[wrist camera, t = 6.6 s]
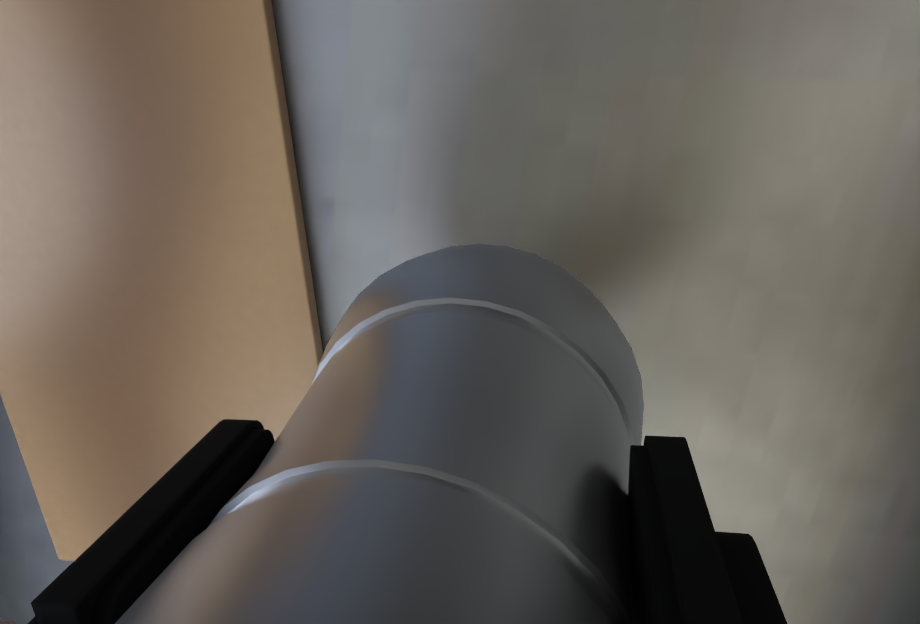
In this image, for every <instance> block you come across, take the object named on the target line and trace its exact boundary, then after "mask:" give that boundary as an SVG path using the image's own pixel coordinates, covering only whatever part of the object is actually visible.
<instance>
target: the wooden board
mask: <svg viewBox="0 0 920 624" xmlns="http://www.w3.org/2000/svg"><path fill="white" fill-rule="evenodd" d="M322 355H323V349H322V342H321V335H320V328H319V321H318V315H317V308H316V301H315V294H314V287H313V281H312V274H311V267H310V260H309V253H308V246H307V240H306V233H305V226H304V219H303V212H302V205H301V199H300V192H299V185H298V178H297V171H296V164H295V158H294V151H293V144H292V137H291V130H290V123H289V117H288V110H287V103H286V96H285V89H284V82H283V76H282V69H281V62H280V55H279V48H278V41H277V35H276V28H275V21H274V14H273V7H272V0H0V395H1V398H2V401H3V403H4V406H5V409H6V412H7V415H8V418H9V420H10V423H11V426H12V429H13V432H14V434H15V437H16V440H17V443H18V446H19V448H20V451H21V454H22V457H23V460H24V463H25V465H26V468H27V471H28V474H29V477H30V479H31V482H32V485H33V488H34V491H35V494H36V496H37V499H38V502H39V505H40V508H41V510H42V513H43V516H44V519H45V522H46V525H47V527H48V530H49V533H50V536H51V539H52V541H53V544H54V547H55V550H56V553H57V555H58V558H59V560H67V561H75V560H76V559H77V558H78V557H79V556H80V555H81V554H82V553H83V552H84V551H85V550H86V549H87V548H88V547H90V546H91V545H92V544H93V543H94V542H95V541H96V540H97V539H98V538H99V537H100V536H101V535H102V534H103V533H104V532H105V531H106V530H107V529H108V528H109V527H110V526H111V525H112V524H113V523H115V522H116V521H117V520H118V519H119V518H120V517H121V516H122V515H123V514H124V513H125V512H126V511H127V510H128V509H129V508H130V507H131V506H132V505H133V504H134V503H135V502H136V501H137V500H138V499H140V498H141V497H142V496H143V495H144V494H145V493H146V492H147V491H148V490H149V489H150V488H151V487H152V486H153V485H154V484H155V483H156V482H157V481H158V480H159V479H160V478H161V477H162V476H163V475H164V474H166V473H167V472H168V471H169V470H170V469H171V468H172V467H173V466H174V465H175V464H176V463H177V462H178V461H179V460H180V459H181V458H182V457H183V456H184V455H185V454H186V453H187V452H188V451H189V450H191V449H192V448H193V447H194V446H195V445H196V444H197V443H198V442H199V441H200V440H201V439H202V438H203V437H204V436H205V435H206V434H207V433H208V432H209V431H210V430H211V429H212V428H213V427H214V426H216V425H217V424H218V423H219V422H220V421H222V420H223V419H237V420H258V421H259V422H261V423H262V425H263V427H264V429H265V430H270V431H271V432H272V434H273V437H274V442H275V441H276V440H277V438H278V436H279V435H280V433H281V432H282V430H283V429H284V427H285V426H286V424H287V422H288V421H289V419H290V418H291V416H292V415H293V413H294V412H295V410H296V408H297V407H298V405H299V404H300V402H301V401H302V399H303V398H304V396H305V395H306V393H307V391H308V390H309V388H310V387H311V384H312V381H313V378H314V376H315V373H316V370H317V368H318V365H319V363H320V360H321V358H322Z"/></svg>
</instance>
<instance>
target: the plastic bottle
mask: <svg viewBox="0 0 920 624" xmlns="http://www.w3.org/2000/svg"><path fill="white" fill-rule="evenodd" d="M643 410H644V403H643V393H642V382H641V375H640V372H639V369H638V366H637V363H636V360H635V357H634V355H633V352H632V349H631V347H630V345H629V343H628V342H627V340H626V338H625V337H624V335H623V333H622V332H621V330H620V328H619V327H618V325H617V323H616V321H615V320H614V319H613V317H612V316H611V315H610V313H609V312H608V311H607V309H606V308H605V306H604V305H603V304H602V303H601V302H600V301H599V299H598V298H597V297H596V296H595V295H594V294H593V293H592V292H591V291H590V290H589V288H588V287H587V286H586V285H585V284H584V283H583V282H581V281H580V280H579V279H577V278H576V277H575V276H573V275H572V274H571V273H569V272H568V271H567V270H565V269H564V268H563V267H561V266H559V265H557V264H555V263H553V262H551V261H549V260H547V259H545V258H543V257H541V256H539V255H537V254H534V253H531V252H527V251H524V250H520V249H516V248H513V247H509V246H503V245H491V244H480V243H477V244H467V245H458V246H450V247H447V248H443V249H440V250H437V251H434V252H430V253H427V254H424V255H421V256H419V257H416V258H413V259H411V260H408V261H406V262H404V263H402V264H400V265H398V266H397V267H395V268H393V269H391V270H389V271H387V272H386V273H384V274H382V275H380V276H379V277H378V278H377V279H375V280H374V281H373V282H372V283H371V284H370V285H369V286H368V287H366V288H365V289H364V290H363V291H362V292H361V293H360V294H358V296H357V297H356V299H355V300H354V301H353V303H352V304H351V306H350V307H349V308H348V310H347V311H346V313H345V314H344V315H343V317H342V319H341V320H340V322H339V324H338V326H337V327H336V329H335V331H334V333H333V335H332V336H331V338H330V340H329V342H328V344H327V346H326V348H325V350H324V353H323V355H322V358H321V360H320V363H319V365H318V368H317V370H316V373H315V376H314V378H313V381H312V384H311V387H310V388H309V390H308V391H307V393H306V395H305V396H304V398H303V399H302V401H301V402H300V404H299V405H298V407H297V408H296V410H295V412H294V413H293V415H292V416H291V418H290V419H289V421H288V422H287V424H286V426H285V427H284V429H283V430H282V432H281V433H280V435H279V436H278V438H277V440H276V441H275V443H274V444H273V446H272V447H271V449H270V450H269V452H268V454H267V455H266V457H265V458H264V460H263V461H262V463H261V464H260V466H259V467H258V469H257V471H256V472H255V474H254V475H253V476H252V477H251V478H250V479H249V480H248V481H247V482H246V483H245V484H244V485H243V486H242V487H241V488H240V490H239V491H238V492H237V493H236V494H235V495H234V496H233V497H232V498H231V499H230V500H229V501H228V502H227V503H226V504H225V506H224V507H223V508H222V509H221V510H220V511H219V513H218V514H217V515H216V517H215V518H214V520H213V521H212V522H211V524H210V525H209V526H208V528H207V529H206V530H204V531H203V532H202V533H200V534H199V535H198V536H197V537H195V538H194V539H193V540H192V541H191V542H190V543H189V544H188V545H187V546H186V547H185V548H184V550H183V551H182V552H181V553H180V554H179V555H178V556H177V557H176V558H175V559H174V560H173V561H172V562H171V564H170V565H169V566H168V567H167V568H166V569H165V570H164V571H163V572H162V573H161V574H160V575H159V576H158V578H157V579H156V580H155V581H154V582H153V583H152V584H151V585H150V586H149V587H148V588H147V589H146V590H145V592H144V593H143V594H142V595H141V596H140V597H139V598H138V599H137V600H136V601H135V602H134V603H133V604H132V606H131V607H130V608H129V609H128V610H127V611H126V612H125V613H124V614H123V615H122V616H121V617H120V619H119V620H118V621H117V622H116V623H115V624H635V621H634V616H633V610H632V604H631V575H632V568H631V547H630V526H629V504H628V482H629V459H630V446H631V445H641V439H642V425H643Z"/></svg>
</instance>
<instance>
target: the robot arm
mask: <svg viewBox="0 0 920 624" xmlns="http://www.w3.org/2000/svg"><path fill="white" fill-rule="evenodd" d="M274 443H275V442H274V437H273V434H272V432H271V431H270V430H265V429H264V427H263V425H262V423H261V422H259V421H258V420H237V419H223V420H222V421H220V422H219V423H218V424H217V425H216V426H214V427H213V428H212V429H211V430H210V431H209V432H208V433H207V434H206V435H205V436H204V437H203V438H202V439H201V440H200V441H199V442H198V443H197V444H196V445H195V446H194V447H193V448H192V449H191V450H189V451H188V452H187V453H186V454H185V455H184V456H183V457H182V458H181V459H180V460H179V461H178V462H177V463H176V464H175V465H174V466H173V467H172V468H171V469H170V470H169V471H168V472H167V473H166V474H164V475H163V476H162V477H161V478H160V479H159V480H158V481H157V482H156V483H155V484H154V485H153V486H152V487H151V488H150V489H149V490H148V491H147V492H146V493H145V494H144V495H143V496H142V497H141V498H140V499H138V500H137V501H136V502H135V503H134V504H133V505H132V506H131V507H130V508H129V509H128V510H127V511H126V512H125V513H124V514H123V515H122V516H121V517H120V518H119V519H118V520H117V521H116V522H115V523H113V524H112V525H111V526H110V527H109V528H108V529H107V530H106V531H105V532H104V533H103V534H102V535H101V536H100V537H99V538H98V539H97V540H96V541H95V542H94V543H93V544H92V545H91V546H90V547H88V548H87V549H86V550H85V551H84V552H83V553H82V554H81V555H80V556H79V557H78V558H77V559H76V560H75V561H74V562H73V563H72V564H71V565H70V566H69V567H68V568H67V569H66V570H65V571H63V572H62V573H61V574H60V575H59V576H58V577H57V578H56V579H55V580H54V581H53V582H52V583H51V584H50V585H49V586H48V587H47V588H46V589H45V590H44V591H43V592H42V593H41V594H40V595H39V596H37V597H36V598H35V599H34V600H33V601H32V602H31V605H32V607H33V610H34V613H35V617H34V618H33V619H32V620H31V621H30V622H29V623H28V624H115V623H116V622H117V621H118V620H119V619H120V617H121V616H122V615H123V614H124V613H125V612H126V611H127V610H128V609H129V608H130V607H131V606H132V604H133V603H134V602H135V601H136V600H137V599H138V598H139V597H140V596H141V595H142V594H143V593H144V592H145V590H146V589H147V588H148V587H149V586H150V585H151V584H152V583H153V582H154V581H155V580H156V579H157V578H158V576H159V575H160V574H161V573H162V572H163V571H164V570H165V569H166V568H167V567H168V566H169V565H170V564H171V562H172V561H173V560H174V559H175V558H176V557H177V556H178V555H179V554H180V553H181V552H182V551H183V550H184V548H185V547H186V546H187V545H188V544H189V543H190V542H191V541H192V540H193V539H194V538H195V537H197V536H198V535H199V534H200V533H202V532H203V531H204V530H206V529H207V528H208V526H209V525H210V524H211V522H212V521H213V520H214V518H215V517H216V515H217V514H218V513H219V511H220V510H221V509H222V508H223V507H224V506H225V504H226V503H227V502H228V501H229V500H230V499H231V498H232V497H233V496H234V495H235V494H236V493H237V492H238V491H239V490H240V488H241V487H242V486H243V485H244V484H245V483H246V482H247V481H248V480H249V479H250V478H251V477H252V476H253V475H254V474H255V472H256V471H257V469H258V467H259V466H260V464H261V463H262V461H263V460H264V458H265V457H266V455H267V454H268V452H269V450H270V449H271V447H272V446H273V444H274ZM628 504H629V526H630V547H631V568H632V575H631V604H632V610H633V616H634V621H635V624H787V622H786V619H785V617H784V614H783V612H782V609H781V607H780V604H779V601H778V599H777V596H776V594H775V591H774V589H773V586H772V584H771V581H770V578H769V576H768V573H767V571H766V568H765V566H764V563H763V561H762V558H761V555H760V553H759V550H758V548H757V545H756V543H755V541H754V539H753V538H752V536H750V535H749V534H742V533H727V532H715V531H714V527H713V524H712V521H711V518H710V515H709V511H708V508H707V505H706V502H705V499H704V495H703V492H702V489H701V486H700V482H699V479H698V476H697V473H696V470H695V466H694V463H693V460H692V457H691V454H690V450H689V447H688V444H687V441H686V439H685V438H684V437H664V436H645V440H644V446H642V445H631V446H630V459H629V482H628ZM0 624H17V623H16V622H12V621H9V620H5V619H0Z"/></svg>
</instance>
